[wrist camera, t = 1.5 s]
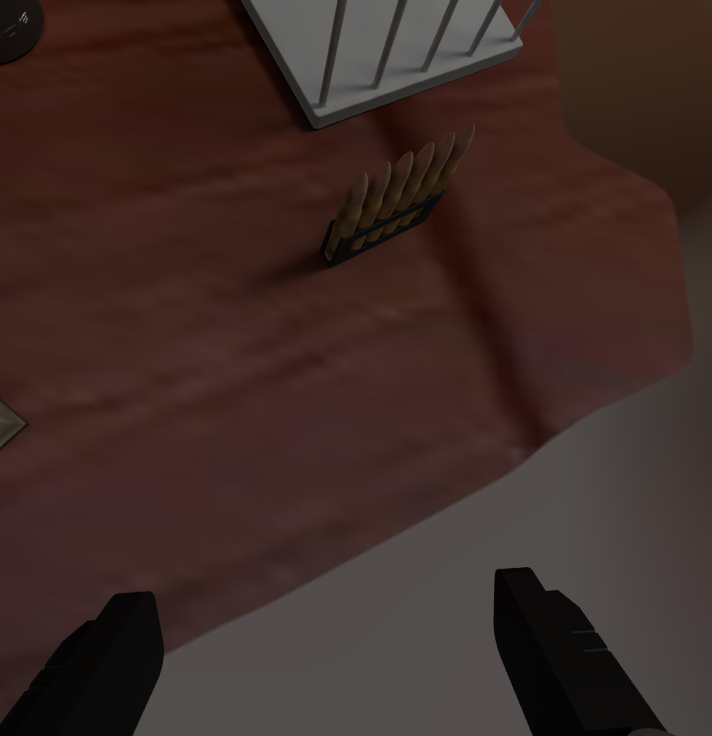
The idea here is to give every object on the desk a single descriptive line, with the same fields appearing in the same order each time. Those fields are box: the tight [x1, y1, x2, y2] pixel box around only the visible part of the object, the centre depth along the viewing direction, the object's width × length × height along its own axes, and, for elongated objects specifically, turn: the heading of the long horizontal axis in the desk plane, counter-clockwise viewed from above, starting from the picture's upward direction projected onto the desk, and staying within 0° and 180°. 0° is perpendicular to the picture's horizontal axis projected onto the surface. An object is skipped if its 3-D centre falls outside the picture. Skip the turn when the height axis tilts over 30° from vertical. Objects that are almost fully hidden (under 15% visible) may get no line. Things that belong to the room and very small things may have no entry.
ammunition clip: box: [320, 124, 475, 268], centre depth 33 cm, size 11×2×12 cm, turn 122°
